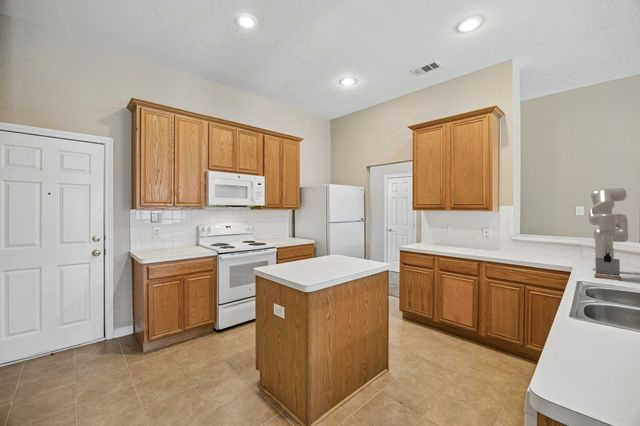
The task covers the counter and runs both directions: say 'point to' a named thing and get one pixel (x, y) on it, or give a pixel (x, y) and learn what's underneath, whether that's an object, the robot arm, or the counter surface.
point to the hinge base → (608, 277)
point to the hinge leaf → (608, 267)
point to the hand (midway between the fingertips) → (607, 261)
